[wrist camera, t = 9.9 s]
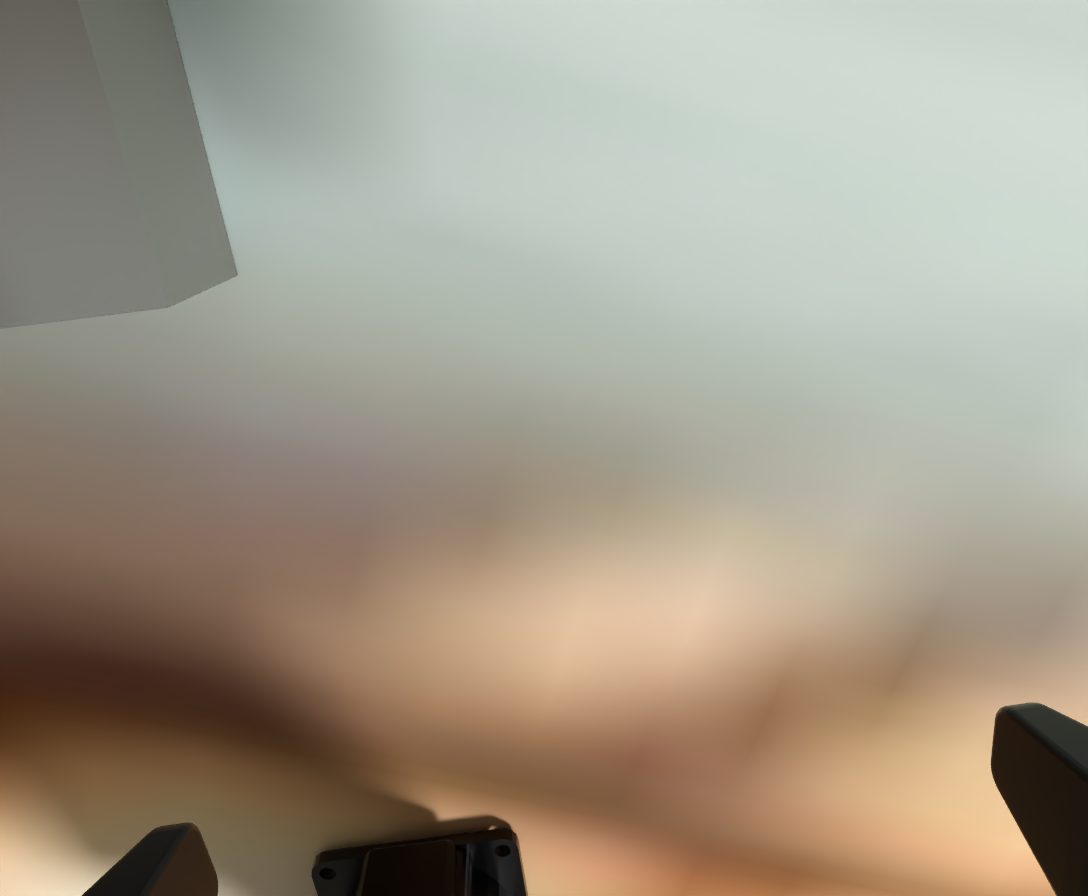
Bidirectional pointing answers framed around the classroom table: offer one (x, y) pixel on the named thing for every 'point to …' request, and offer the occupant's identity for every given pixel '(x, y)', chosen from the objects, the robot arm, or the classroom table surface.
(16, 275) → the base block
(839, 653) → the classroom table surface
